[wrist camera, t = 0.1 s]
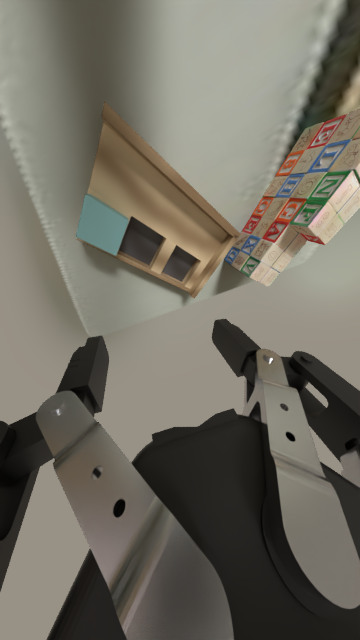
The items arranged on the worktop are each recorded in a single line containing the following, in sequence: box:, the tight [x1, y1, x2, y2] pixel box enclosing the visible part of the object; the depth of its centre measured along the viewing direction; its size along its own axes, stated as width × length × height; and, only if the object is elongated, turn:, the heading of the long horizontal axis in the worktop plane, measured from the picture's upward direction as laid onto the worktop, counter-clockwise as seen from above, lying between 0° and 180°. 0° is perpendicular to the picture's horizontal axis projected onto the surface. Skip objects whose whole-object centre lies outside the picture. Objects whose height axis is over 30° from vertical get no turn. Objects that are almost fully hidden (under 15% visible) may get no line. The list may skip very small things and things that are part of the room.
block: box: [76, 194, 129, 256], centre depth 20 cm, size 5×5×3 cm
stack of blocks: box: [224, 109, 360, 287], centre depth 25 cm, size 21×6×12 cm, turn 153°
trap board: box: [77, 102, 241, 298], centre depth 25 cm, size 14×22×4 cm, turn 57°
